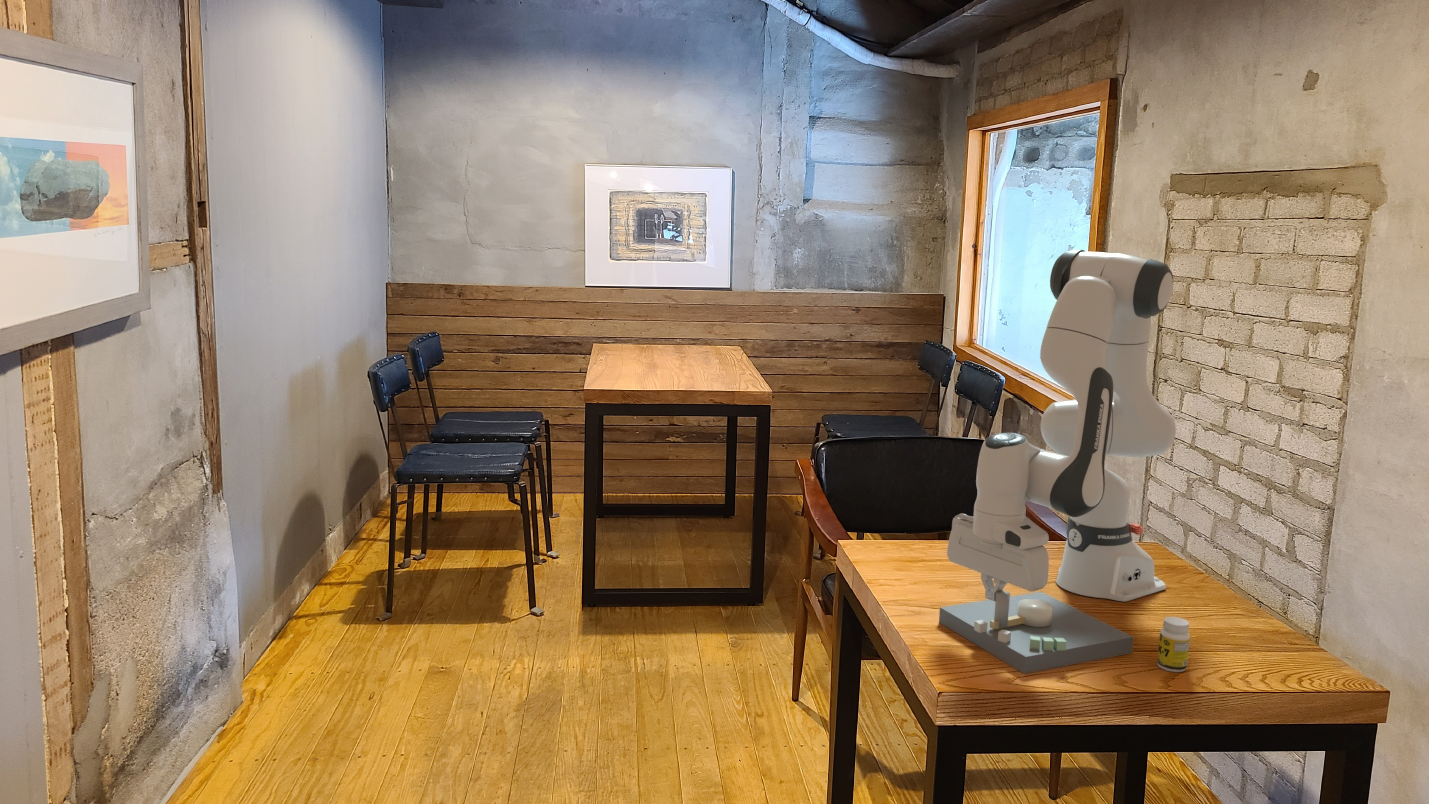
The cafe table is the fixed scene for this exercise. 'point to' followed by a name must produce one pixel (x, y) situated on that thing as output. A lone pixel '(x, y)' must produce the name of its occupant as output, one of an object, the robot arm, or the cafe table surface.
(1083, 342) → the robot arm
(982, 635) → the dial plate
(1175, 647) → the supplement bottle
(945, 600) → the cafe table surface
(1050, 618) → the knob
